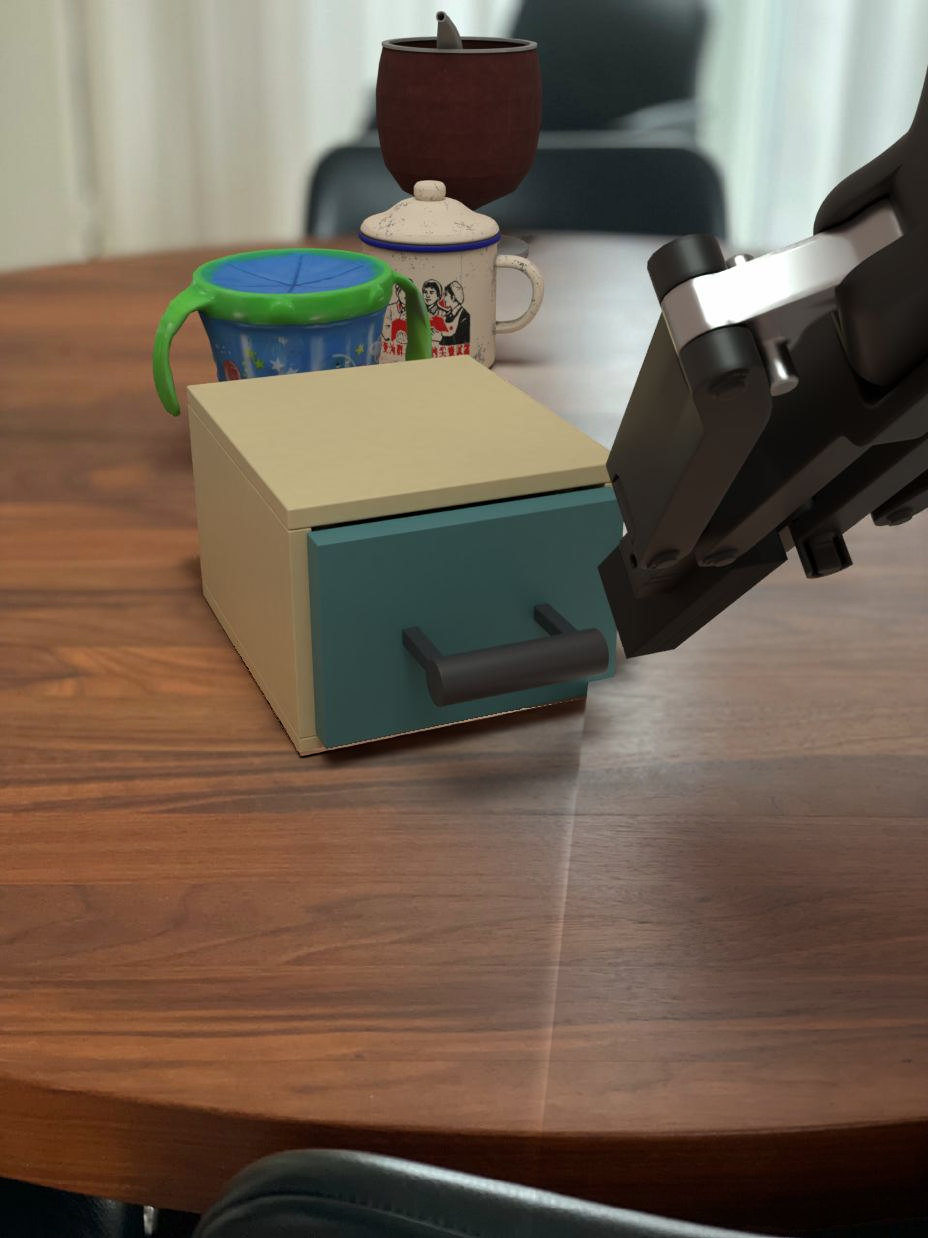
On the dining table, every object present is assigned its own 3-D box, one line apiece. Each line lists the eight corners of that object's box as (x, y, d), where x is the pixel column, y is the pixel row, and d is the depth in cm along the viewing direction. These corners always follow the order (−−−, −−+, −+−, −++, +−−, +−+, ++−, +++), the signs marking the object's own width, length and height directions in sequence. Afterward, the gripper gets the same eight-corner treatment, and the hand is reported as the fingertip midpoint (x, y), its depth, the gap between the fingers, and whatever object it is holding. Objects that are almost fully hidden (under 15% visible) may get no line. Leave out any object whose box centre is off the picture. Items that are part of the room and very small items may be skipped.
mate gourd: (396, 233, 134) (394, -3, 125) (546, 239, 132) (554, 0, 123) (357, 270, 120) (351, 9, 111) (524, 278, 118) (531, 12, 109)
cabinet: (612, 693, 56) (626, 459, 52) (300, 758, 52) (287, 509, 48) (466, 552, 68) (467, 353, 64) (202, 595, 64) (185, 384, 60)
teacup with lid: (345, 378, 93) (340, 191, 88) (380, 340, 101) (377, 167, 96) (530, 390, 91) (535, 200, 86) (551, 351, 99) (557, 175, 94)
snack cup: (186, 504, 73) (169, 305, 69) (141, 440, 82) (123, 259, 78) (468, 463, 79) (469, 277, 74) (398, 407, 88) (395, 237, 83)
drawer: (671, 745, 51) (688, 542, 48) (366, 814, 47) (360, 597, 44) (473, 555, 66) (475, 389, 62) (228, 595, 62) (215, 420, 58)
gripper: (1548, -245, 22) (792, 454, 43) (816, -288, 17) (376, 517, 38) (1808, 180, 20) (879, 693, 41) (1056, 257, 15) (451, 788, 36)
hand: (636, 607), depth 40 cm, fingers closed
